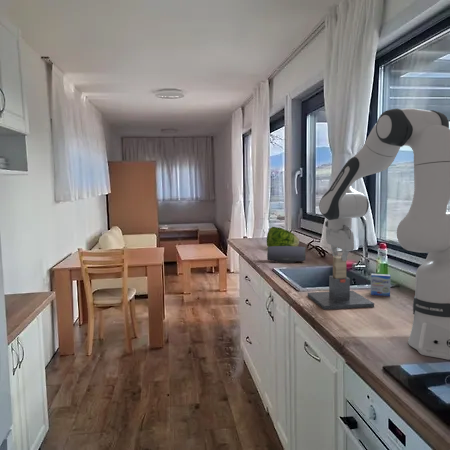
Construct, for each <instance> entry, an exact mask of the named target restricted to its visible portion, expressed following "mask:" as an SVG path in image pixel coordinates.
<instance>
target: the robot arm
mask: <svg viewBox="0 0 450 450" xmlns="http://www.w3.org/2000/svg"><path fill="white" fill-rule="evenodd" d="M368 134H369V135H368V136H367V138H366V140H365V142H364V144H363V145H362V147H361V148H360V149H359V150H358V152H357V153H356V154H354V155H353V156H352V157H351V158H350V159H348V160H347V162H346V163H345V164H344V166H342V168H341V170H340V171H339V173H338V175H337V176H336V178H335V179H334V180H333V182H332V184H331V186H330V187H329V189H328V190H327V191H326V192H325V193H324V194H323V196H322V197H321V198H320V200H319V204H318V206H319V208H318V209H319V212H320V214H321V215H322V216H323V217H324V219H326V221H325V222H324V227H326V228H325V239H326V244H328V245H330V248H331V253H332V254H331V255H332V256H333V257H339V255H338V253H339V252H338V249H340V250H341V252H342V254H341V256H340V257H341V260H342V261H346V262H347V261H348V255H349V252H350V251H351V252H352V251H354V249H355V238H354V232H353V231H352V230H351V229H352V219H353V218H355V219H357V218H362V217H364V216H365V215H366V214H367V213H368V211H369V209H370V208H369V207H370V205H369V203H370V202H369V199H368V197H367V196H366V195H365V193H363V192H360V191H357V190H355V189H354V188H353V187H352V185H353V183H355V182H357V181H358V180H359V179H361V178H365V177H366V176H370V175H374V174H379V173H381V172H384V171H386V170H387V169H388V168H389V167H390V166H392V164H393V163H394V161H395V159H396V157H397V156H398V153H399V151H400V150H401V148H403V147H404V146H407V147H410V149H411V150H412V153H413V178H414V179H413V181H414V182H413V183H414V184H413V185H414V188H413V189H414V190H413V191H414V192H413V198H412V202H411V204H410V207H409V210H408V212H407V213H406V215H405V216H404V217H403V218H402V220H401V221H400V222H398V225H397V228H396V238H397V241H398V244H399V245H400V246H401V247H402V248H403V250H406V251H409V252H414V253H419V254H420V253H421V254H425V253H426V254H427V253H428V254H427V255H426V258H425V260H424V261H423V262H422V264H421V265H419V266H418V268H417V269H416V272H415V290H414V291H415V292H414V293H415V295H414V296H413V299H412V300H413V301H412V311H413V312H412V314H413V321H412V325H411V326H412V327H411V331H410V334H409V337H408V340H407V343H408V345H409V346H410V347H411V348H413V349H415V350H417V351H418V353H419V354H420V355H422V356H426V357H432V358H437V359H444V360H448V361H450V212H447V208H448V204H449V203H450V122H449V120H448V118H447V116H446V115H445V114H444V113H442V112H440V111H436V110H428V109H427V110H426V109H420V108H419V109H418V108H413V107H412V108H411V107H410V108H392V109H388V110H385V111H383V112H382V113H381V114H380V115H379V116H378V118H377V121H376V123H375V125H373V127H372V128H371V130H370V132H369V133H368Z"/></svg>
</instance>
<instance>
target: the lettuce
mask: <svg viewBox="0 0 450 450" xmlns="http://www.w3.org/2000/svg"><path fill="white" fill-rule="evenodd" d="M299 244H300V239H299V237H298V236H297V235H295V234H294V233H292V232H291V231H289V230H287V229H284V228H282V227H277V226H271V227H270V228H269V229H268V231H267V235H266V246H267V248H268V247H270V246H299Z"/></svg>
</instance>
